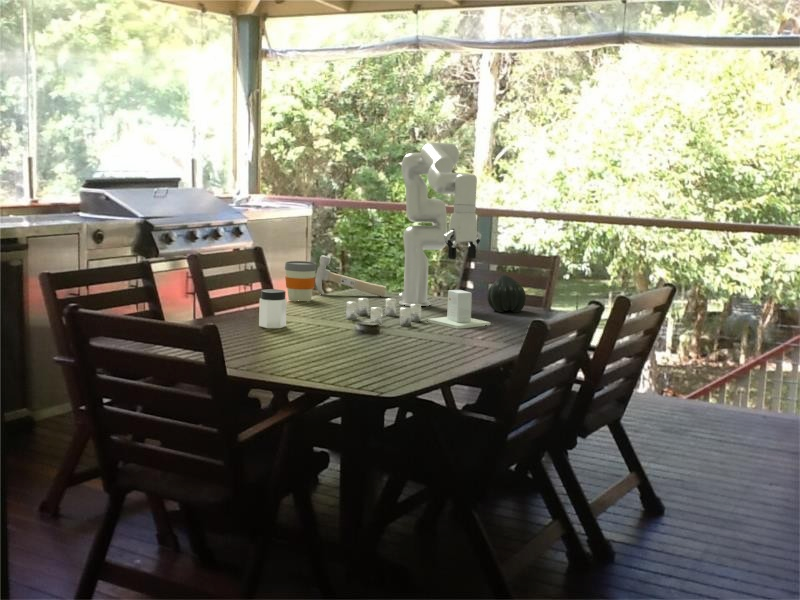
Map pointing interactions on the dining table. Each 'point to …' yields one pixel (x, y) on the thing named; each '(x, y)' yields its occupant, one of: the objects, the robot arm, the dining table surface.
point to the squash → (506, 295)
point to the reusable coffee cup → (300, 280)
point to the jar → (272, 308)
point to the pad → (458, 323)
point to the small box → (459, 306)
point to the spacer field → (390, 310)
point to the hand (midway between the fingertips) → (461, 258)
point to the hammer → (344, 280)
